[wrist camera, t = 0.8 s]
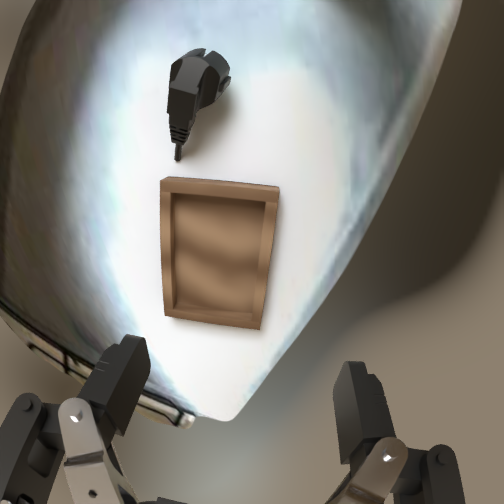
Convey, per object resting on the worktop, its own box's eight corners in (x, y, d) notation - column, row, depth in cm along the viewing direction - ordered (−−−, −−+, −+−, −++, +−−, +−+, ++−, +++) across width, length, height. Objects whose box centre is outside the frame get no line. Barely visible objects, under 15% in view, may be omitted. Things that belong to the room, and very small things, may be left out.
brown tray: (168, 176, 31) (160, 180, 29) (278, 186, 30) (279, 191, 28) (170, 305, 38) (164, 315, 36) (260, 317, 38) (259, 329, 35)
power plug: (151, 155, 29) (156, 60, 19) (181, 119, 33) (194, 35, 23) (197, 171, 30) (217, 75, 19) (221, 133, 34) (245, 49, 23)
